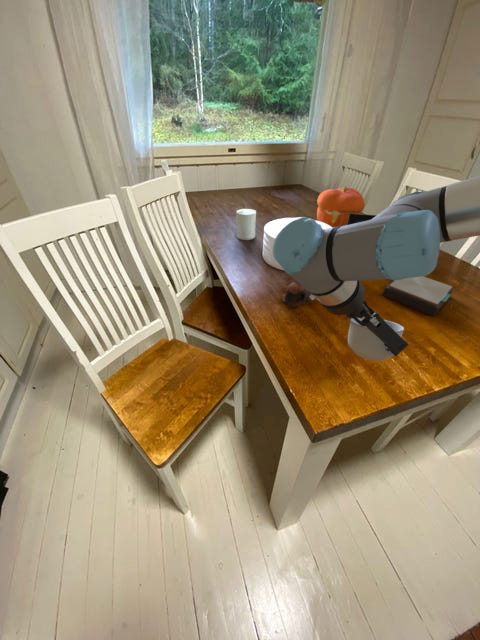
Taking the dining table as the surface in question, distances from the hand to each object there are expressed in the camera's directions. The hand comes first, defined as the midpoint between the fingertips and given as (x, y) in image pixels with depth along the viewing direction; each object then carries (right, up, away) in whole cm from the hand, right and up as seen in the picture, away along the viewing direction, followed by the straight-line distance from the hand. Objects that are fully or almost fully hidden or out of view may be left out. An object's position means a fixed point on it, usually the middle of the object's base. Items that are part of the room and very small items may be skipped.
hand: (374, 331), depth 62 cm
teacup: (-1, -5, +2) cm, 6 cm away
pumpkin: (+18, +49, +78) cm, 95 cm away
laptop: (+25, +34, +60) cm, 73 cm away
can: (-28, +43, +70) cm, 86 cm away
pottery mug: (-12, +8, +27) cm, 31 cm away
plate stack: (-7, +29, +53) cm, 61 cm away
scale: (+29, +11, +30) cm, 43 cm away
